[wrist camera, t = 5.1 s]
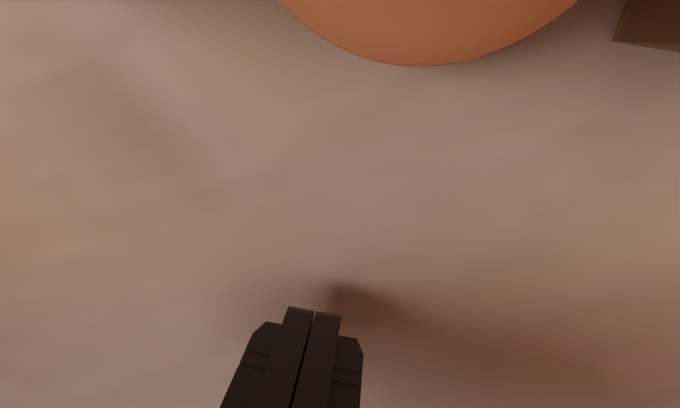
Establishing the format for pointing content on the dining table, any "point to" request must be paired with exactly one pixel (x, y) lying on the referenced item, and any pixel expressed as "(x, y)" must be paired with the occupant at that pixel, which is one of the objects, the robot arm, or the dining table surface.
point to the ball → (424, 26)
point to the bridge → (650, 24)
